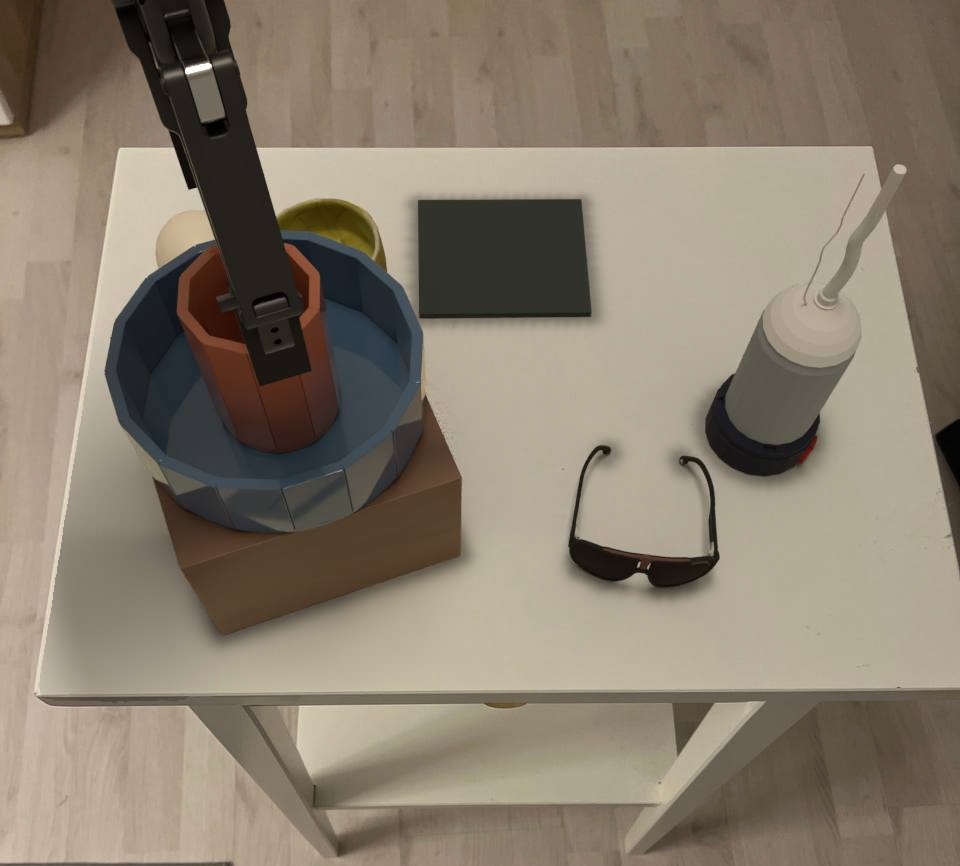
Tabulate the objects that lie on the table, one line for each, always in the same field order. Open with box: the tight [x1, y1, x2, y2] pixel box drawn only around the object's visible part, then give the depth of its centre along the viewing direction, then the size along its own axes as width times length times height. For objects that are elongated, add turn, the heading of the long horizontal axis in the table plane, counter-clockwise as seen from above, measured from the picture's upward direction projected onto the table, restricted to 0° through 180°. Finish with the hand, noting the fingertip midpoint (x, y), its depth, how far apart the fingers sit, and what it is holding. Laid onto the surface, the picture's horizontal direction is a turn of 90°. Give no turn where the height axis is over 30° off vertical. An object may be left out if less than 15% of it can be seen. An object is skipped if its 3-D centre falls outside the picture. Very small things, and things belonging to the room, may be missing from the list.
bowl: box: [103, 230, 427, 533], centre depth 59 cm, size 18×18×5 cm
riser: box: [109, 336, 463, 636], centre depth 66 cm, size 18×18×11 cm
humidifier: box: [704, 163, 908, 477], centre depth 63 cm, size 8×8×25 cm
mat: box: [417, 198, 593, 319], centre depth 79 cm, size 14×12×1 cm
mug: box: [276, 197, 388, 273], centre depth 74 cm, size 12×10×10 cm
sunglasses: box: [567, 444, 721, 589], centre depth 69 cm, size 11×12×5 cm
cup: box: [177, 243, 340, 453], centre depth 56 cm, size 8×8×10 cm
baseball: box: [155, 209, 215, 270], centre depth 75 cm, size 7×7×7 cm
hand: (245, 272), depth 50 cm, fingers open, 13 cm apart
